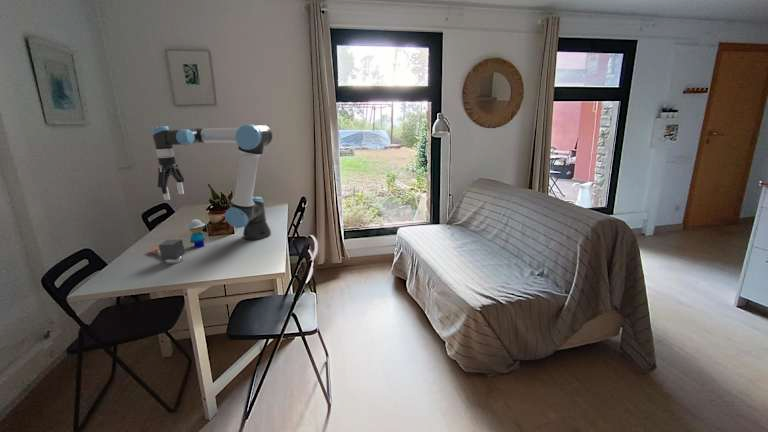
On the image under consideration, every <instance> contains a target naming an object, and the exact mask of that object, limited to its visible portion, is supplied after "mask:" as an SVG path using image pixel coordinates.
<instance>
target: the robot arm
mask: <svg viewBox="0 0 768 432" xmlns="http://www.w3.org/2000/svg"><path fill="white" fill-rule="evenodd" d="M151 133H152V138H153V141H154V145H155V151H156V156H157V157H158V158H157V160H158V165H159V166H161V167H158V168H157V171H158V175H157V176H158V179H157V187H158V188H159V189H160V188H161V191H162V195H163V197H162V198H163V200H164V201H168V200H169V201H170V200H171V196H170V191H169V186H168V182H169V178H170V176H172V177H173V179H174V180H175V181H176V187H177V193H178V195H184V194H185V191H184V186H183V183H184V182H185V178H184V176H183V174H182V172H181V170H180V168H179V166H178V164H176V162H177V161H176V157H175V152H174V146H180V145H181V146H186V145H187V146H188V145H192V144H205V143H208V144H209V143H210V144H211V143H213V144H214V143H219V144H222V143H237V146H238V147H237V150H238V152H239V153H240V157H239V164H238V171H237V172H238V173H237V180H236V186H235V192H234V197H233V198H232V199H230V205H229V208H227V209H226V211H225V213H224V218H225V220H226V222H227V223H228V224H229V226H231V227H232V228H236V229H240V228H243V227H244V228H243V232H242V233H243V234H242V236H243V237H242V238H243V239H244V240H247V241H248V240H249V241H256V240H261V239H265V238H268V237H270V236H271V234H272V231H271V228H270V227H269V224H268V222H267V218H266V211H265V202H264V199H263V197H261V196H254V191H255V184H256V179H257V178H256V177H257V171H258V164H259V158H260V156H262V155H263V153H264V147H266V146H269V144H270V143H272V141H273V132H272V129H271V128H270V127H269V126H267V125H266V124H264V123H247V124H243V125H241V126H240V127H221V128H220V127H219V128H218V127H217V128H216V127H214V128H210V127H209V128H199V127H198V128H183V129H170V128H169V126H168V125H161V126H152V127H151Z"/></svg>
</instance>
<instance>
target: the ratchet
mask: <svg viewBox="0 0 768 432" xmlns="http://www.w3.org/2000/svg"><path fill="white" fill-rule="evenodd" d="M159 245H160V244H158V245H155V246H151V247H149V249H150V253H152V254H153V255H156V256H158V257H161V253H160V249H159ZM161 258H162V257H161ZM183 261H184V258H183V255H182V256H181V257H179V258H178V259H171V260H165V264H166V265H176V264H179V263H181V262H183Z"/></svg>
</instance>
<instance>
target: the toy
mask: <svg viewBox="0 0 768 432" xmlns="http://www.w3.org/2000/svg"><path fill="white" fill-rule="evenodd" d="M207 225H208V224H207ZM207 225H206V224H205V223H203V222H202V221H201V220H200V219H191V221H190V222H189V223H188V225H187V226H186V228H187V229H189V231H190V233H192V234H191V235H190V239H189V240H190V241H189V242H190V243H191V244H192V243H194V247H197V248H203V247H205V242H204V241H206V237H205V235H204V234H203V233H202V232H204V233H208V226H207Z"/></svg>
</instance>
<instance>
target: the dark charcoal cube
mask: <svg viewBox="0 0 768 432" xmlns="http://www.w3.org/2000/svg"><path fill="white" fill-rule="evenodd" d="M158 245H159V249H160V253H161V261H162V260H163V261H164V260H165V261H166V260H171V259H178V258H179V257H181V256H182V257H183V256H184V255H185V254H186V253H185V249H184V242H183V240H182V238H181V239H166V240H165V241H163V242H161V243H160V244H158Z"/></svg>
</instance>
